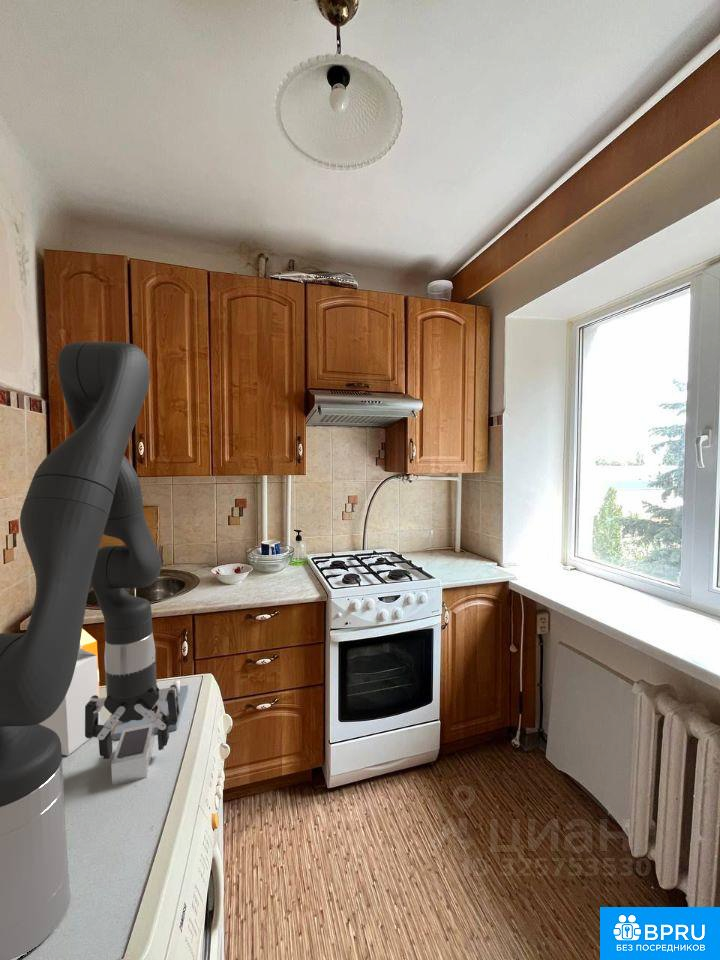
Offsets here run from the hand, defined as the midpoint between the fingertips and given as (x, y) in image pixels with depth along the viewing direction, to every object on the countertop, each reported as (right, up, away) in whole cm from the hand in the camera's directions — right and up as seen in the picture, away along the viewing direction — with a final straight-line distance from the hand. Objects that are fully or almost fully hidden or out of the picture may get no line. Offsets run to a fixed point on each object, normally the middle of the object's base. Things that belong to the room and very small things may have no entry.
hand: (135, 751), depth 72 cm
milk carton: (-15, -2, +5) cm, 16 cm away
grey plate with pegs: (-3, -1, +13) cm, 14 cm away
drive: (0, -2, 0) cm, 2 cm away
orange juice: (-21, -1, +15) cm, 26 cm away
